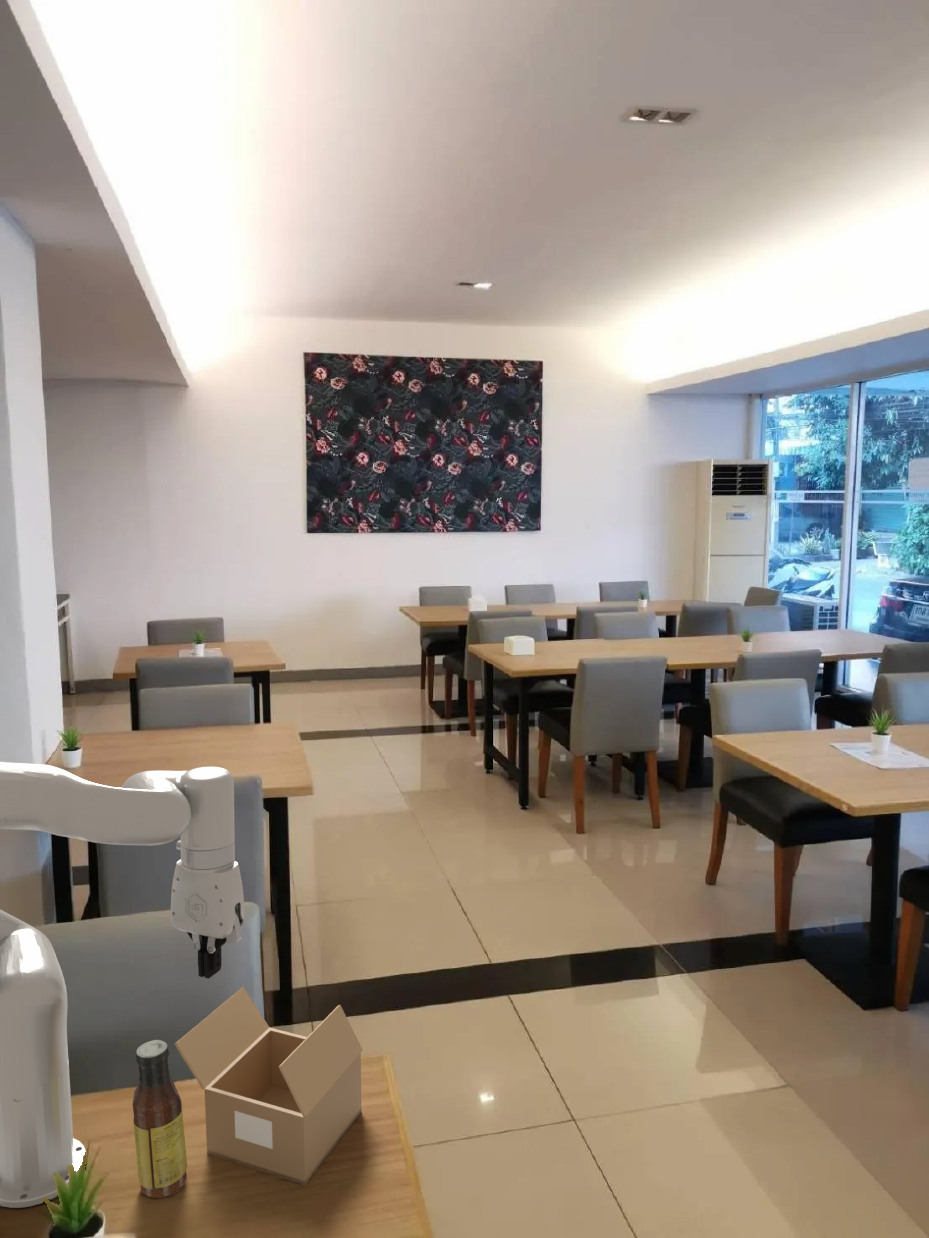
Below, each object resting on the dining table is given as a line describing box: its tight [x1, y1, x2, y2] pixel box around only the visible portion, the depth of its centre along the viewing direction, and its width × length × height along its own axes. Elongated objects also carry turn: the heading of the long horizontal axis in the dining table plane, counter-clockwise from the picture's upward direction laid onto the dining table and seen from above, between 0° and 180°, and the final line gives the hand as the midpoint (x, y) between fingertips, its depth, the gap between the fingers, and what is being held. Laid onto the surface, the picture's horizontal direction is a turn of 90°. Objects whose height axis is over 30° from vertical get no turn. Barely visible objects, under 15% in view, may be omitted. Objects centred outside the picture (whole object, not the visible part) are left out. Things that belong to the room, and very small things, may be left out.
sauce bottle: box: [132, 1039, 188, 1199], centre depth 124 cm, size 7×6×20 cm
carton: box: [204, 1026, 363, 1186], centre depth 134 cm, size 16×16×10 cm
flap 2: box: [279, 1004, 363, 1118], centre depth 131 cm, size 7×16×1 cm
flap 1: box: [173, 986, 270, 1090], centre depth 137 cm, size 7×16×1 cm
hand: (209, 973), depth 136 cm, fingers closed
